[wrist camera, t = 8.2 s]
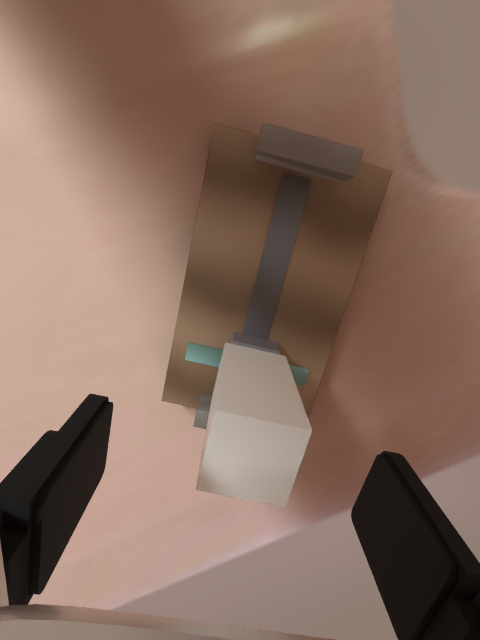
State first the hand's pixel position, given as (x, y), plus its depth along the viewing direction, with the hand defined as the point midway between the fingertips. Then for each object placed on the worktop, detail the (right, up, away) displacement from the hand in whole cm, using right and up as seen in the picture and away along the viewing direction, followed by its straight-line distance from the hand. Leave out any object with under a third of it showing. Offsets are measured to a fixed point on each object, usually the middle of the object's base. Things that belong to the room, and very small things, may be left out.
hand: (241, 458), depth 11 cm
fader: (0, +2, +9) cm, 9 cm away
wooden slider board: (+2, +7, +10) cm, 12 cm away
